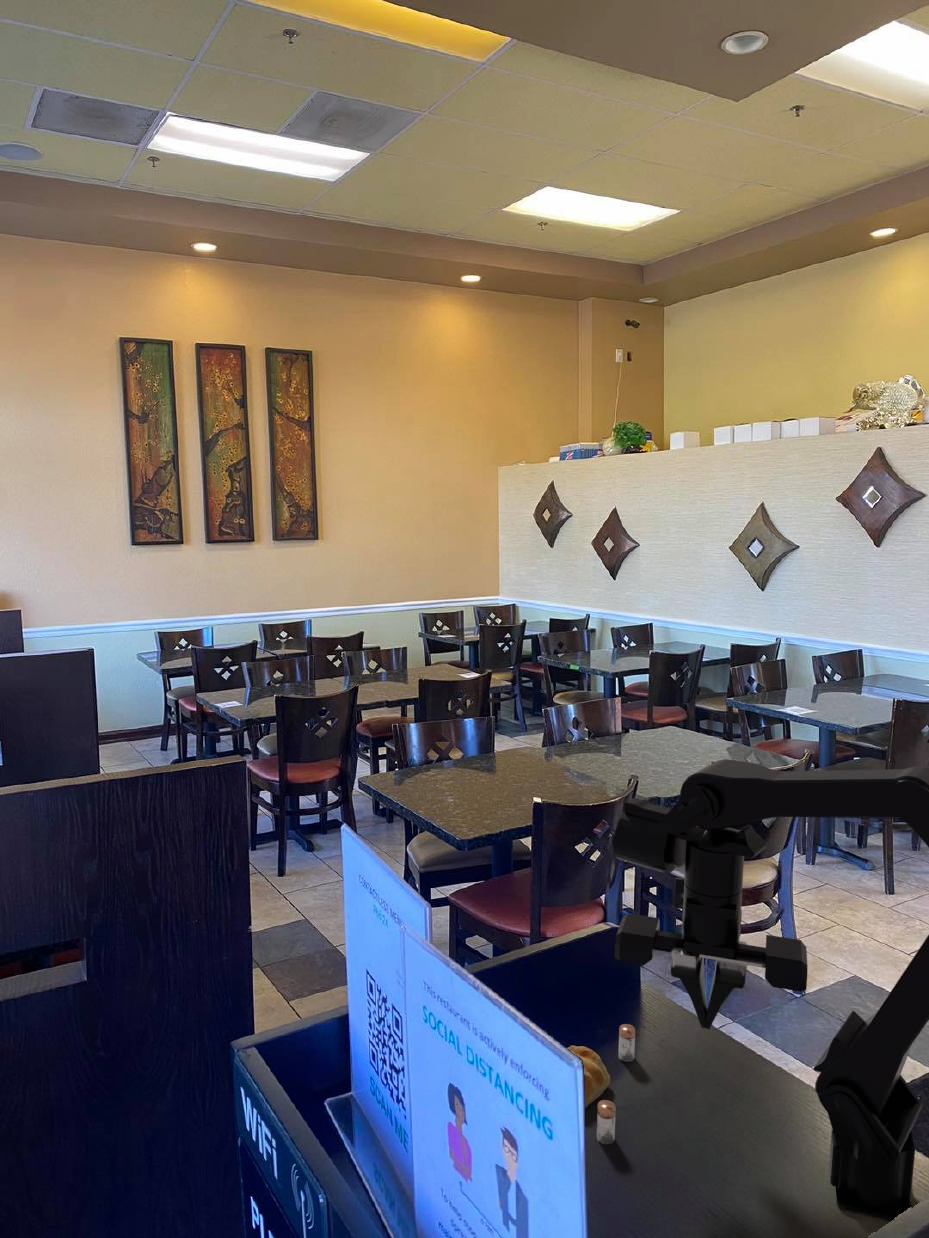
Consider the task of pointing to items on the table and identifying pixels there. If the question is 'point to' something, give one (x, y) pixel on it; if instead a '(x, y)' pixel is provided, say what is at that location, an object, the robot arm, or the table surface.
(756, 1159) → the table surface
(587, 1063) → the pastry
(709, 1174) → the table surface
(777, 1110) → the table surface
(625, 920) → the robot arm
